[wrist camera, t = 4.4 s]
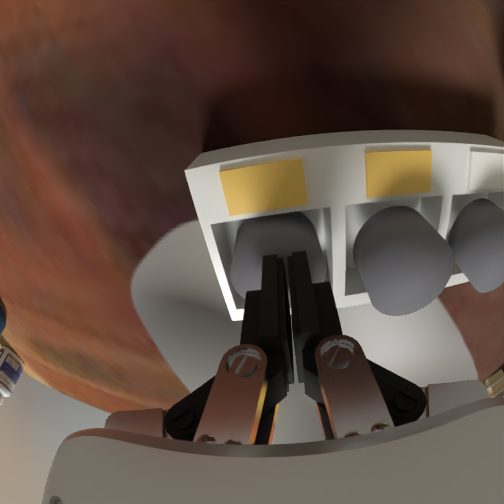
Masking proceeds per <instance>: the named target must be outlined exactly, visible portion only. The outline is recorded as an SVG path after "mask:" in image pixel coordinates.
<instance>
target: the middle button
mask: <svg viewBox="0 0 504 504" xmlns="http://www.w3.org/2000/svg"><path fill="white" fill-rule="evenodd" d="M353 258H354V262H355V265H356V267H357V269H358V272H359V274H360V276H361V279H362V281H363V283H364V286H365V288H366V291H367V293H368V296H369V298H370V301H371V303H372V304H373V306H374V307H375V308H376V309H377V310H378V311H380V312H381V313H383V314H386V315H392V316H399V315H406V314H409V313H413V312H415V311H417V310H419V309H421V308H423V307H425V306H426V305H428V304H429V303H431V302H432V301H433V300H434V299H435V298H436V297H437V296H438V295H439V294H440V293H441V292H442V291H443V289H444V288H445V286H446V285H447V283H448V281H449V279H450V277H451V274H452V271H453V267H454V255H453V251H452V248H451V247H450V245H449V244H448V243H447V241H446V240H445V239H444V238H443V237H442V236H441V235H440V234H439V233H438V232H437V231H436V230H435V228H434V227H433V226H432V225H431V224H430V223H429V222H428V221H427V220H426V219H425V218H424V217H423V216H422V215H421V214H420V213H419V212H418V211H416V210H415V209H413V208H410V207H407V206H392V207H388V208H385V209H383V210H381V211H379V212H377V213H376V214H374V215H373V216H371V217H370V218H369V219H368V220H367V221H366V222H365V223H364V225H363V226H362V227H361V229H360V230H359V232H358V234H357V236H356V238H355V241H354V246H353Z"/></svg>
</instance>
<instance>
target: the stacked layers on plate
mask: <svg viewBox="0 0 504 504" xmlns="http://www.w3.org/2000/svg"><path fill="white" fill-rule="evenodd" d="M485 386H486V387H487V390H488V394H489V398H494V397H503V396H504V373H503V371H502V369H501V370H499V371H498V372H496V373H495V374H494V375H492V376H491V377H489V378H488V379H487V381H486V383H485Z"/></svg>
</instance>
